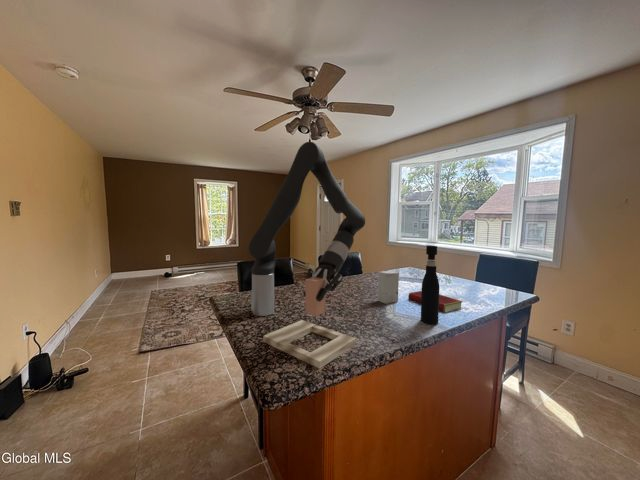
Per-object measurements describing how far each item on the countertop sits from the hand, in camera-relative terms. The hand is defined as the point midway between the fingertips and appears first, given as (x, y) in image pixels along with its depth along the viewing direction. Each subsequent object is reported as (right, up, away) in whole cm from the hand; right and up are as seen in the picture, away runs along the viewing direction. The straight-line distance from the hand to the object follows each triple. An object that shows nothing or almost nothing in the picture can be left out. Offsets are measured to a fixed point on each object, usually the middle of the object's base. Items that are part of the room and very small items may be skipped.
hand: (311, 298), depth 82 cm
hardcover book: (+58, -13, +42) cm, 73 cm away
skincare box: (+36, -12, +46) cm, 60 cm away
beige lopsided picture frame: (-1, -15, +2) cm, 15 cm away
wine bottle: (+46, -14, +20) cm, 52 cm away
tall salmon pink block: (+1, -5, +2) cm, 6 cm away
